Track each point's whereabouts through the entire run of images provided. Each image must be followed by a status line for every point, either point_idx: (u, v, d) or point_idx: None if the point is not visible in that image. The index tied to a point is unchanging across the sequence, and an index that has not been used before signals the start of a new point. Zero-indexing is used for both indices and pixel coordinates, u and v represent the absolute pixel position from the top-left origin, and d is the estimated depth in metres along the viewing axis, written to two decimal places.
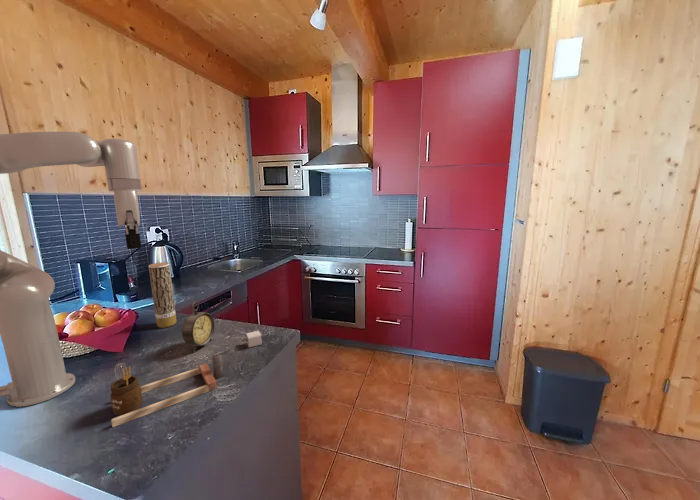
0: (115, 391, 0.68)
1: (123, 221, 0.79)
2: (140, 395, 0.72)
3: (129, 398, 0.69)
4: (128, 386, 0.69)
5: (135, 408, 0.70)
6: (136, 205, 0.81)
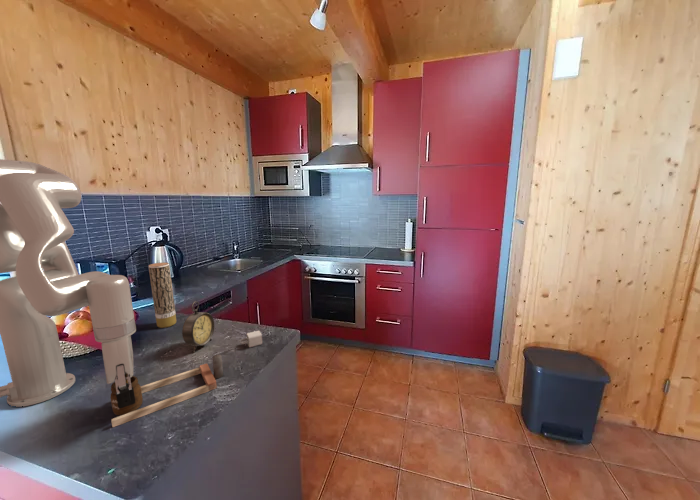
0: (115, 391, 0.68)
1: (113, 381, 0.65)
2: (140, 395, 0.72)
3: None
4: None
5: (135, 408, 0.70)
6: (129, 355, 0.66)
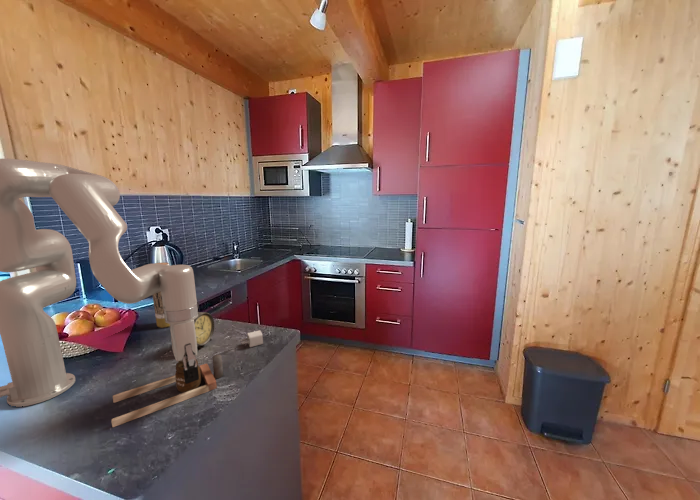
0: (180, 370, 0.76)
1: (182, 356, 0.73)
2: (200, 375, 0.80)
3: None
4: None
5: (196, 386, 0.78)
6: (194, 336, 0.74)
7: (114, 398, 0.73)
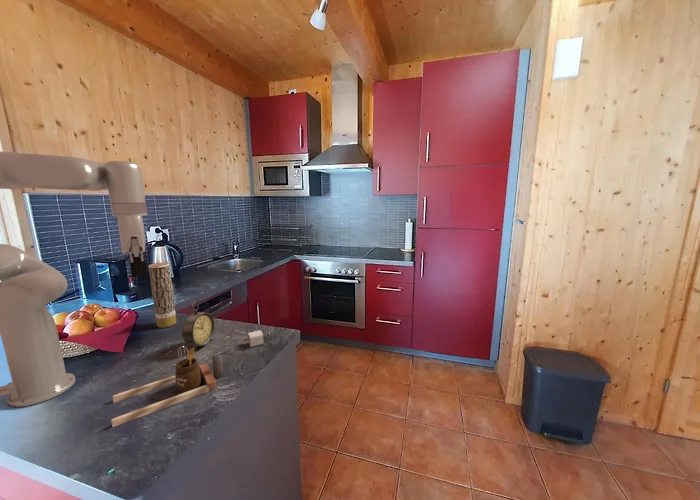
0: (180, 370, 0.76)
1: (127, 248, 0.74)
2: (200, 375, 0.80)
3: (192, 377, 0.77)
4: (191, 366, 0.77)
5: (196, 386, 0.78)
6: (141, 231, 0.76)
7: (114, 398, 0.73)
